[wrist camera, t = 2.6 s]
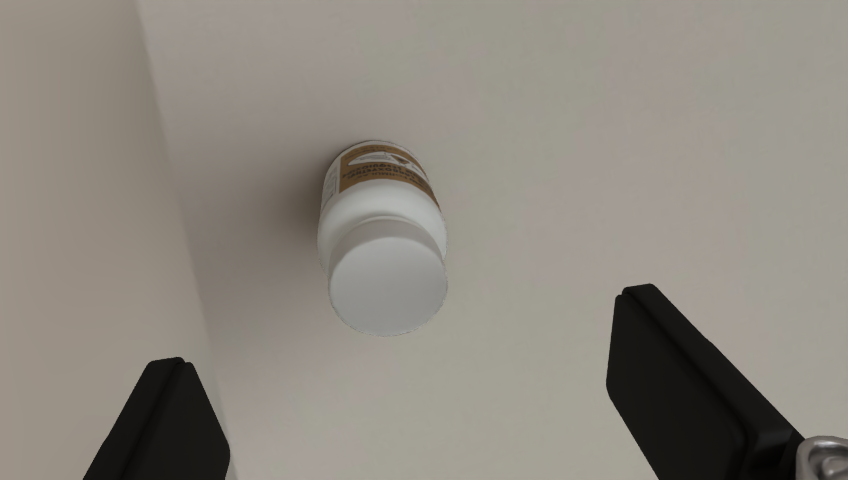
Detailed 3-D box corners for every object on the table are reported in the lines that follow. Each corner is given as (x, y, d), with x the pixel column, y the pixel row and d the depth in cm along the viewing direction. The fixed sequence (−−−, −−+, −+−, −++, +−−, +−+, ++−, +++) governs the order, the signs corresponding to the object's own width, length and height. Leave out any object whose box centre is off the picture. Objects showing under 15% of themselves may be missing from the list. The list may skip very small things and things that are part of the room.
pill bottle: (441, 155, 20) (487, 242, 14) (408, 244, 22) (434, 361, 15) (338, 124, 19) (332, 202, 12) (312, 220, 21) (294, 336, 14)
